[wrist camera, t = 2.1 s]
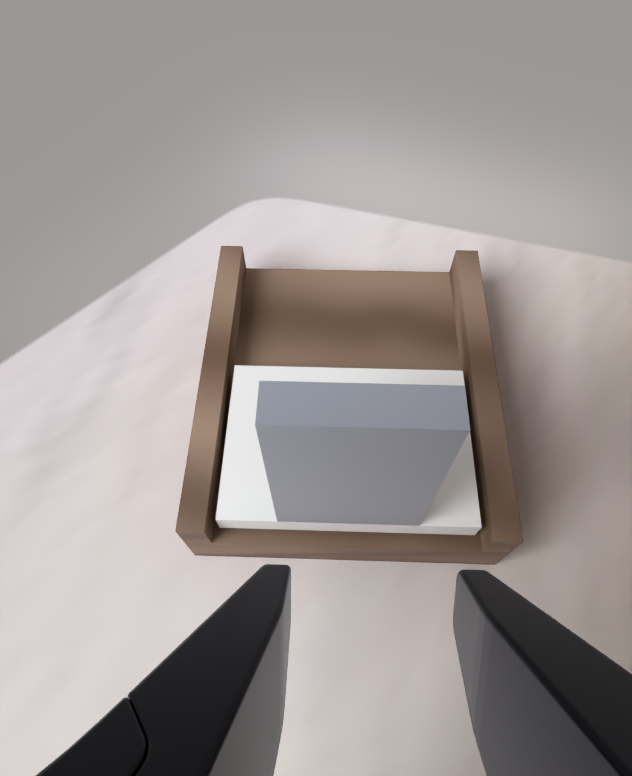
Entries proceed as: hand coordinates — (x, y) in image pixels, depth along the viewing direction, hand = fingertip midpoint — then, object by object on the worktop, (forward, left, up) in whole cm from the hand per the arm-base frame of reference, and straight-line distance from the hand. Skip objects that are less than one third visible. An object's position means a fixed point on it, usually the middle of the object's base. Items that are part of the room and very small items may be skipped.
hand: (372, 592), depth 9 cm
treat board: (+2, -10, -14) cm, 17 cm away
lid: (+1, -7, -11) cm, 13 cm away
